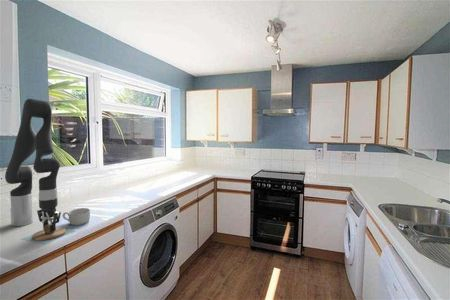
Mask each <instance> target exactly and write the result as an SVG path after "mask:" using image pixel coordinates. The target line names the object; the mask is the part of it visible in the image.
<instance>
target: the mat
mask: <svg viewBox="0 0 450 300" xmlns="http://www.w3.org/2000/svg"><path fill="white" fill-rule="evenodd" d="M56 228H57V226H56ZM65 229H66V228H65ZM73 233H76V230H73V229H68V228H67V229H66V233H65V234H64V235H62V236H60V237H58V238H55V239H51V240H46V241H34V240H33V239H32V235H33V234H31V235H28V236H26V237H23V238H22V240H23V241H28V242H32V243H36V244H41V245H47V244H49V243H51V242H53V241H56V240H58V239H60V238H63V237H65V236H67V235H69V234H73Z"/></svg>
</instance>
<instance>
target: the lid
mask: <svg viewBox="0 0 450 300" xmlns="http://www.w3.org/2000/svg"><path fill="white" fill-rule="evenodd" d="M56 227H57V226H56ZM44 229H45V230H43V229H42V230H39V231H37V232H34V234H31V235H32V239H33V240H34V241H46V240H51V239H55V238H58V237H60V236H62V235H64V234H65V233H66V228H65V227H57V228H56V230H55V231H53V232H50V223H49V224H47V225H45V226H44ZM58 239H59V238H58Z"/></svg>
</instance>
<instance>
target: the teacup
mask: <svg viewBox="0 0 450 300" xmlns="http://www.w3.org/2000/svg"><path fill="white" fill-rule="evenodd" d="M66 215H67V216H68V217H67V216H66ZM62 218H63V219H64V220H66V221H68V222H69V223H70V225H72V226H82V225H85V224H87V223H89V222H90V219H91V209H90V208H87V207H81V208H80V207H79V208H75V209H72V210H70V211H65V212H63V213H62Z"/></svg>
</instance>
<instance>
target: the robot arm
mask: <svg viewBox="0 0 450 300" xmlns="http://www.w3.org/2000/svg"><path fill="white" fill-rule="evenodd" d="M32 118H39V119H42V120H43V123H42V126H41V127H40V128H39V130H38V131H37V132H36V131H35V130H34V127H33V125H32ZM52 121H53V108H52V105H51V103H50V102H49V101H45V100H41V99H40V100H39V99H35V98H27V99H26V100H24V103H23V108H22V113H21V119H20V125H19V128H18V133H17V135H16V137H15V142H14V146H13V150H12V155H11V157H10V161H9V163H8V165H7V168H6V171H5V175H4V178H5V182H6V183H7V184H9V185H15V184H19V185H18V186H16V187H15V188H12V189H11V190H10V191H9V192H10V193H9V194H10V195H9V196H10V197H9V198H10V225H11V226H12V227H22V226H27V225H29V224H32V223H33V222H34V221H33V218H34V217H33V199H32V195H33V194H32V189H33V170H34V172H35V173H37V174H44V173H50V174H49V175H47V176H44V177H41V178H39V180H38V207H39V209H38V210H36V212H37V213H36V214H37V216H38V221H39V222H41V223H42V228H43V229H42V230H45V229H44V226H45V225H47V224H50V232H53V231H55V230H56V227H57V226H56V224H59V223H60V219H61V216H62V215H61V214H62V212H61V211H57V206H58V202H59V201H58V190H57V177H58V173H59V171H60V166H61V162H60V160H59V159H58V158H57V157H54V158H53V157H48V158H43V157H45V156H49V155H52V154H54V145H53V137H52V128H53V127H52V126H53V122H52ZM34 153H35V158H34V161H33V167H32V168H33V170H32V169H31V167H30V166H28V165H27V166H26V165H24V166H23V165H22V164H24V162H25V161H26V160H27V159H28V158H30V157H31V156H32V155H33V154H34Z"/></svg>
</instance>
